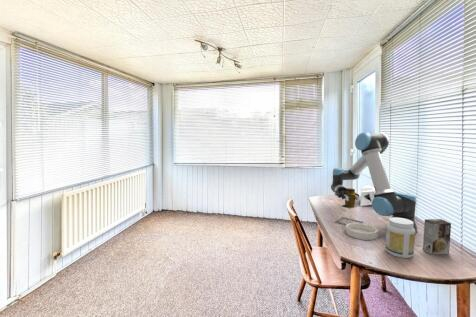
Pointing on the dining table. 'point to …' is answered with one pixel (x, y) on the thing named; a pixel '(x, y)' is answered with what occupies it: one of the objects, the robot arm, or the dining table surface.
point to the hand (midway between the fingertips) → (353, 199)
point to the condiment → (350, 199)
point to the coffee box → (436, 236)
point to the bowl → (361, 231)
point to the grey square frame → (346, 218)
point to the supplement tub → (400, 237)
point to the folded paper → (367, 195)
